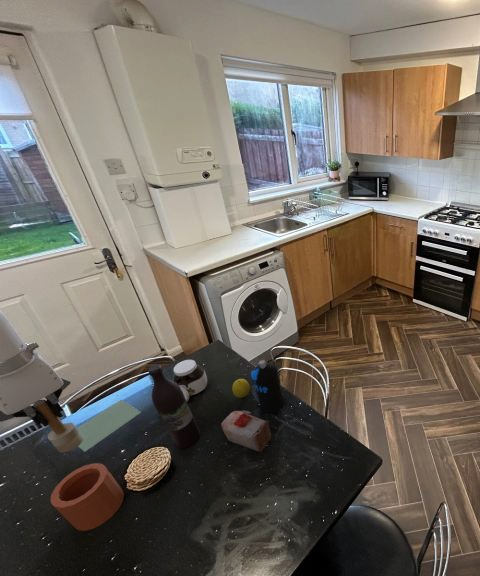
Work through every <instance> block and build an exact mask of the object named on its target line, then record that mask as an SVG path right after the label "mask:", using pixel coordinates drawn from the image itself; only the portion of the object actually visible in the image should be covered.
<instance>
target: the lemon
mask: <svg viewBox="0 0 480 576" xmlns="http://www.w3.org/2000/svg"><path fill="white" fill-rule="evenodd" d="M231 388H232V393H233V395H234V396H235V397H236V398H239V399H243V398H245V397H247V396H248V395H249V393H250V390H251V386H250V384H249V381H247V379H244V378H239V379H236V380H235V381H234V382H233V384H232V387H231Z"/></svg>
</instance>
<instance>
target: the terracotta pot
mask: <svg viewBox="0 0 480 576" xmlns="http://www.w3.org/2000/svg"><path fill="white" fill-rule="evenodd" d="M124 498H125V493H124V491H123V488H122V486H120V484H119V483H118V482H117V480H116V479H115V478H114V476H113V475H112V473H111V472H110V471H109V469H108V468H107V467H106V466H105V465H104V464H103V463H99V462H98V463H97V462H96V463H95V462H94V463H90V464H85V465H83V466H81V467H79V468H76V469H74V470H73V471H72V472H71V473H69V474H67V475H66V476H65V477H64V478H63V479H61V481H60V482H59V483H58V484H57V485H56V486H55V488H54V489H53V490H52V492H51V494H50V504H51V505H52V506H53V507H54V508H55V509H56V510H57V511H58V513H60V515H62V516H63V517H64V518H65V519H66V521H68V522H69V524H70V525H71V526H72V527H74V529H75V530H77V531H82V532H84V531H85V532H86V531H90V530H93V529H96V528H98V527H99V526H102V525H103V524H105V523H106V522H107V521H108V520H110V519H111V518H112V517H113V516H114V515H115V514H116V513H117V512H118V510H119V509H120V507H121V506H122V504H123V502H124Z"/></svg>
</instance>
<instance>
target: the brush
mask: <svg viewBox="0 0 480 576" xmlns="http://www.w3.org/2000/svg"><path fill="white" fill-rule="evenodd" d="M46 401H47V400H46V399H40V400H39V401H37V402H35V403H33V404H32V407H33V409H34V410H37V411H38V412H39V413H41V414H42V416H43V417H44V418H45V419H46V421H47V422H48V423H49V424H48V427H49V428H50V429H51V431H50V432H49V433H48V435H47V439H48V440H49V441H50V443H51V444H52V445H53V447H54V448H55V449H56V450H57V451H58V453H60V454H61V453H62V454H64V453H68V452H71V451H73V450H74V449H76V448H78V446H79V445H80V444H81V443H82V441H83V436H82V435H81V433H80V432H79V431H78V429H77V428H78V427H77V426H76V424H74V423H73V422H65V423H63V422H62V420H61V419H60V418H59V417H57V416H56V414H55V413H54V412H53V410H52V409H51V408H50V406H49V405H48V403H47V402H46Z"/></svg>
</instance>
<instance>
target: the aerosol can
mask: <svg viewBox="0 0 480 576" xmlns="http://www.w3.org/2000/svg"><path fill="white" fill-rule="evenodd" d="M250 377H251V379H252V381H253V385H254V389H255V392H256V396H257V398H258V403H259V409H260V411H261V412H262V413H263V414H266V415H272V414H275V413H277V412H279V411H280V410H281V409H283V407H284V406H285V398H284V396H283V391H282V387H281V383H280V378H279V373H278V366H277V365H276V364H274V363H272V362H266V360H265V359H261V360H259V361H258V365H256V366H255V367H254V368H253V369H252V371H251V373H250Z"/></svg>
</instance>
